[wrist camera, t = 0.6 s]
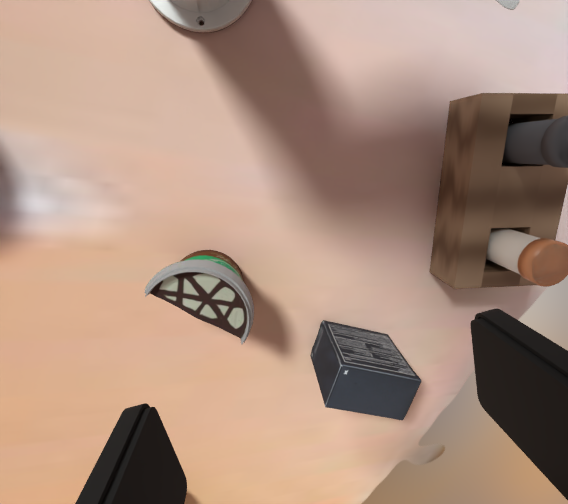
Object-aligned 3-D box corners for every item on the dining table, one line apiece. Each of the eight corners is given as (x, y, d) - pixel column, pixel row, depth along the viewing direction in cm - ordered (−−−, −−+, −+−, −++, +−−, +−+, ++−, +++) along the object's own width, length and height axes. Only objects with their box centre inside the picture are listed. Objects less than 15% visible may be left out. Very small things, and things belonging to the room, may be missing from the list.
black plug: (476, 124, 42) (561, 113, 30) (512, 123, 42) (610, 113, 31) (470, 164, 43) (549, 168, 32) (506, 163, 44) (596, 167, 32)
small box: (308, 357, 50) (322, 410, 40) (321, 318, 48) (340, 362, 38) (374, 371, 51) (403, 424, 41) (389, 333, 50) (424, 379, 40)
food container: (271, 270, 45) (276, 301, 36) (247, 306, 46) (246, 346, 37) (187, 222, 42) (168, 243, 33) (164, 263, 44) (139, 294, 34)
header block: (450, 101, 41) (482, 93, 35) (542, 101, 42) (587, 93, 36) (429, 272, 47) (454, 288, 42) (510, 268, 48) (544, 284, 43)
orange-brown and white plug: (462, 219, 45) (534, 242, 34) (496, 218, 46) (578, 241, 34) (457, 254, 47) (525, 287, 35) (490, 252, 47) (567, 285, 36)
